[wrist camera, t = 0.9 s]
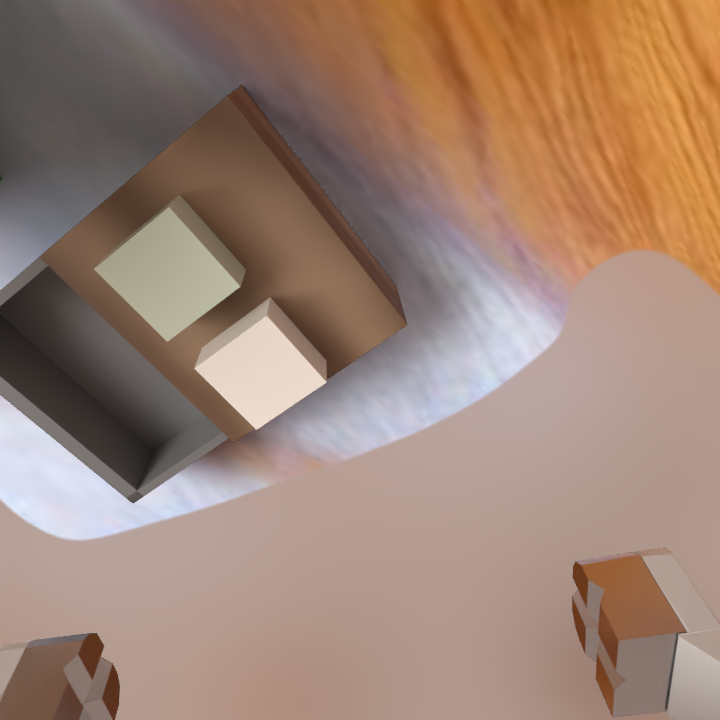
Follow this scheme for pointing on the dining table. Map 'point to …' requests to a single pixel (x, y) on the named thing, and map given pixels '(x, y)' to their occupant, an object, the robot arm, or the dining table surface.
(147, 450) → the tray
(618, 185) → the dining table surface
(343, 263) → the brown box sleeve
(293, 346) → the white tile
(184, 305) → the sage tile
